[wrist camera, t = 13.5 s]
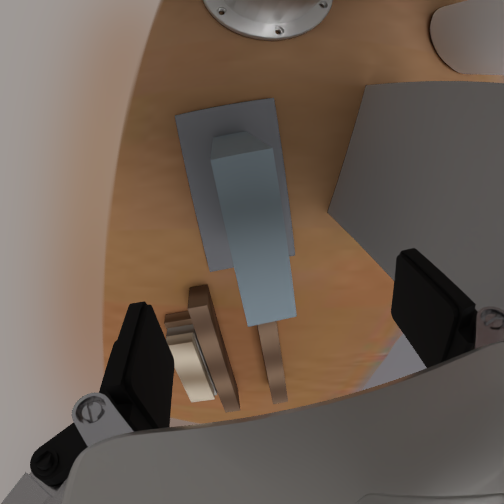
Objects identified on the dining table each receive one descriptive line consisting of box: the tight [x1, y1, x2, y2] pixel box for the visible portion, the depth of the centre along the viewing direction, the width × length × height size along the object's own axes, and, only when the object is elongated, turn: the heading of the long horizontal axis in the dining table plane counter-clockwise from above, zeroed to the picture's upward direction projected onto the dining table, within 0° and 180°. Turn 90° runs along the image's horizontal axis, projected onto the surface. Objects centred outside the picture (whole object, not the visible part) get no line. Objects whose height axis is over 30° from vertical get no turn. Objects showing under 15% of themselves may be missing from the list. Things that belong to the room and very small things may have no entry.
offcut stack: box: [164, 311, 217, 402], centre depth 36 cm, size 12×4×5 cm, turn 9°
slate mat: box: [175, 98, 295, 272], centre depth 30 cm, size 16×9×1 cm, turn 9°
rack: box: [188, 285, 288, 412], centre depth 37 cm, size 18×8×4 cm, turn 9°
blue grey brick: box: [211, 131, 297, 327], centre depth 23 cm, size 10×3×14 cm, turn 10°
